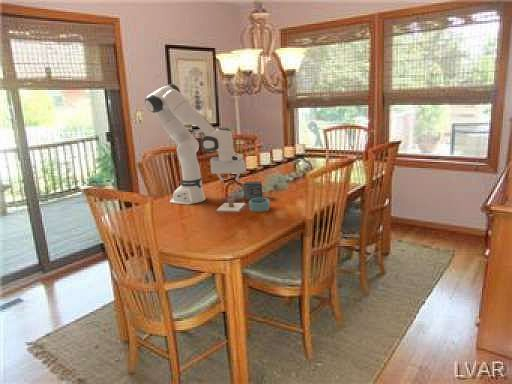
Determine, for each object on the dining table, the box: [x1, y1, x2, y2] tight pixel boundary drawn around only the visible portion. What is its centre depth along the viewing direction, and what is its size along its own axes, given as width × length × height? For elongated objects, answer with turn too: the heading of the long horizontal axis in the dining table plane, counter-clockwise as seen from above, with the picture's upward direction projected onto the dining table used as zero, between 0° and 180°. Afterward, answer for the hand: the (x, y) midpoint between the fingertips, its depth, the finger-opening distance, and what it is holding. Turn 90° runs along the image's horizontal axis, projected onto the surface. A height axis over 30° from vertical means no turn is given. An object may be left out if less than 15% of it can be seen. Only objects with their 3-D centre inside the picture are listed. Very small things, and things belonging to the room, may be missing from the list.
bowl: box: [248, 197, 271, 213], centre depth 224 cm, size 11×11×5 cm
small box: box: [243, 180, 264, 201], centre depth 243 cm, size 11×6×10 cm, turn 84°
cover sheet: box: [216, 198, 246, 213], centre depth 228 cm, size 13×13×5 cm
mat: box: [214, 203, 248, 213], centre depth 229 cm, size 15×15×1 cm
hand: (229, 180), depth 225 cm, fingers open, 8 cm apart
